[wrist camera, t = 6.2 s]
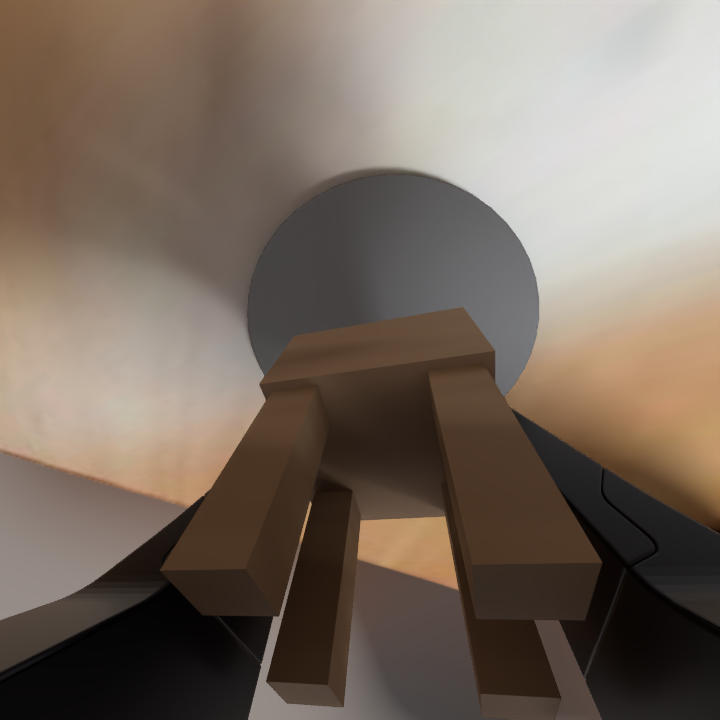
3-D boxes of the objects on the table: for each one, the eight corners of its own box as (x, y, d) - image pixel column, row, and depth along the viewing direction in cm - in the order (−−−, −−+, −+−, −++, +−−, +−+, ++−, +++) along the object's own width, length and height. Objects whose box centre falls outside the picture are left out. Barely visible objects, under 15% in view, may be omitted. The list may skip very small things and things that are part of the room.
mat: (527, 428, 17) (530, 433, 16) (299, 450, 19) (297, 455, 19) (548, 130, 10) (553, 128, 10) (202, 220, 13) (197, 220, 12)
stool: (470, 441, 11) (568, 728, 5) (334, 453, 12) (279, 706, 6) (463, 306, 9) (638, 546, 3) (294, 335, 10) (132, 559, 4)
